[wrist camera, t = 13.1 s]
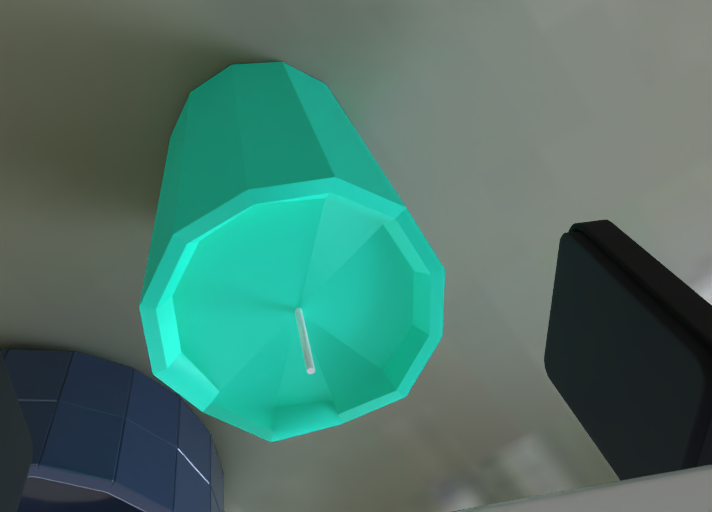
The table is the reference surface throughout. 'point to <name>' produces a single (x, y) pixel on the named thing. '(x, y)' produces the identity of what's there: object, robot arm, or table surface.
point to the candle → (284, 261)
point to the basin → (110, 439)
